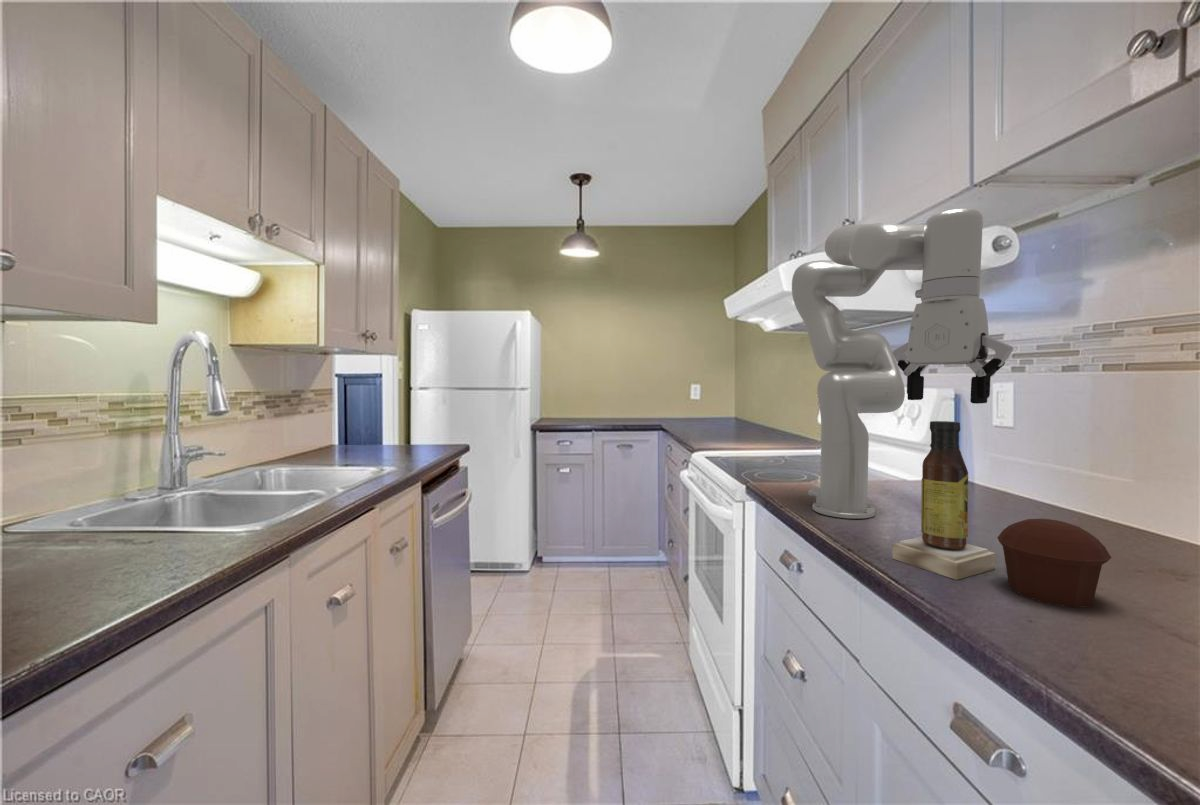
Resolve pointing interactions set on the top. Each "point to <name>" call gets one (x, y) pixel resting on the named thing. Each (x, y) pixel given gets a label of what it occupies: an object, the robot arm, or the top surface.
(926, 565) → the birch riser
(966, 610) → the top surface
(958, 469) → the sauce bottle
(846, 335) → the robot arm
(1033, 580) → the muffin
